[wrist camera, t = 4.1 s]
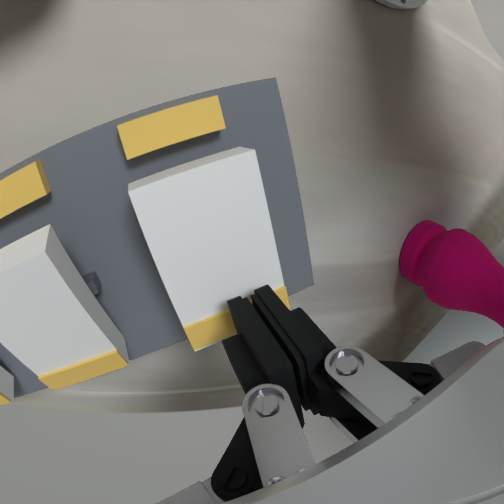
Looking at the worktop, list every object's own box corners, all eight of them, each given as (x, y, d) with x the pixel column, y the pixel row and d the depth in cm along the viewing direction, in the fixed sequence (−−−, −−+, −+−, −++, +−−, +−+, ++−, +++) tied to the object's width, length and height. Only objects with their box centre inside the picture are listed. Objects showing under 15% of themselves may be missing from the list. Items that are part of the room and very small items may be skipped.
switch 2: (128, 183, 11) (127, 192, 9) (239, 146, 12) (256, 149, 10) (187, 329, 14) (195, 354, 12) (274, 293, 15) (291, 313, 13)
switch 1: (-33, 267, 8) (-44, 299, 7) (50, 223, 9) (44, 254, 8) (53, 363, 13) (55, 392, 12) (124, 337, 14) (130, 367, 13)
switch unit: (-90, 242, 11) (-133, 280, 6) (238, 88, 16) (286, 74, 11) (-19, 365, 16) (-38, 420, 11) (276, 251, 22) (323, 292, 16)
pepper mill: (399, 296, 29) (549, 410, 12) (389, 240, 26) (585, 362, 8) (442, 257, 30) (584, 345, 13) (436, 202, 26) (612, 287, 9)
